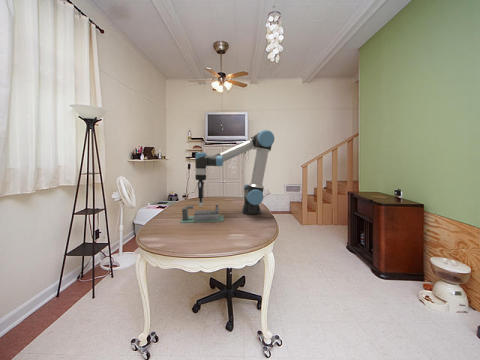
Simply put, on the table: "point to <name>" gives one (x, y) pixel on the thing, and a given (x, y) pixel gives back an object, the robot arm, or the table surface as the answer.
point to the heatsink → (207, 215)
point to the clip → (186, 212)
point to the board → (191, 220)
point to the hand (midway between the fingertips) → (200, 206)
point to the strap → (205, 208)
